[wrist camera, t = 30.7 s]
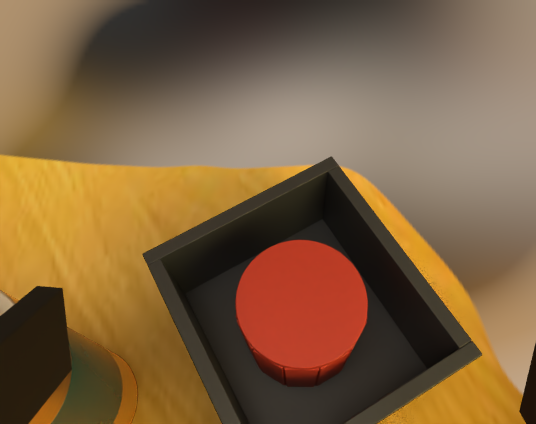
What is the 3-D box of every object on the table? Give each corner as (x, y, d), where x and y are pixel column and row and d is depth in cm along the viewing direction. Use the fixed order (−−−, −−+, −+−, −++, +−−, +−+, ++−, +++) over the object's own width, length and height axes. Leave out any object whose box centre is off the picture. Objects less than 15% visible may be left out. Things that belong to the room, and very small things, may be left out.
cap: (229, 311, 32) (213, 276, 25) (317, 263, 33) (322, 218, 27) (280, 408, 29) (275, 395, 22) (374, 352, 30) (394, 324, 24)
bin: (172, 293, 33) (141, 253, 27) (325, 210, 35) (331, 155, 29) (267, 489, 27) (258, 500, 21) (442, 376, 30) (483, 354, 23)
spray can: (21, 381, 31) (-199, 323, 17) (116, 330, 32) (-19, 237, 18) (52, 484, 28) (-182, 512, 14) (154, 423, 29) (28, 396, 16)
